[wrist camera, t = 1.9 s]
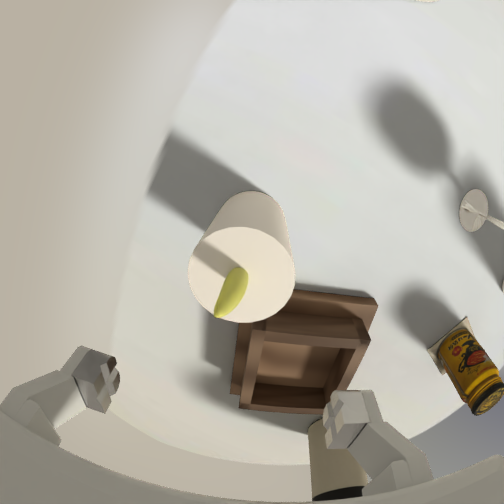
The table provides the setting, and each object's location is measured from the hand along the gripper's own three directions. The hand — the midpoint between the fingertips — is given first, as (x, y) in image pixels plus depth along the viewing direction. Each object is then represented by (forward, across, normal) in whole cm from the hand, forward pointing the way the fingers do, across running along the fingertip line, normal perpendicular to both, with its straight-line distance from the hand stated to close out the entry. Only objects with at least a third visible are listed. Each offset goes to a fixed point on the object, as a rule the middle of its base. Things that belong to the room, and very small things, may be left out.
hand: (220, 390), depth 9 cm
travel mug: (+19, -17, +30) cm, 40 cm away
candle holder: (+19, -7, +13) cm, 24 cm away
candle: (+19, 0, -1) cm, 19 cm away
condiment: (+19, -31, +12) cm, 38 cm away
